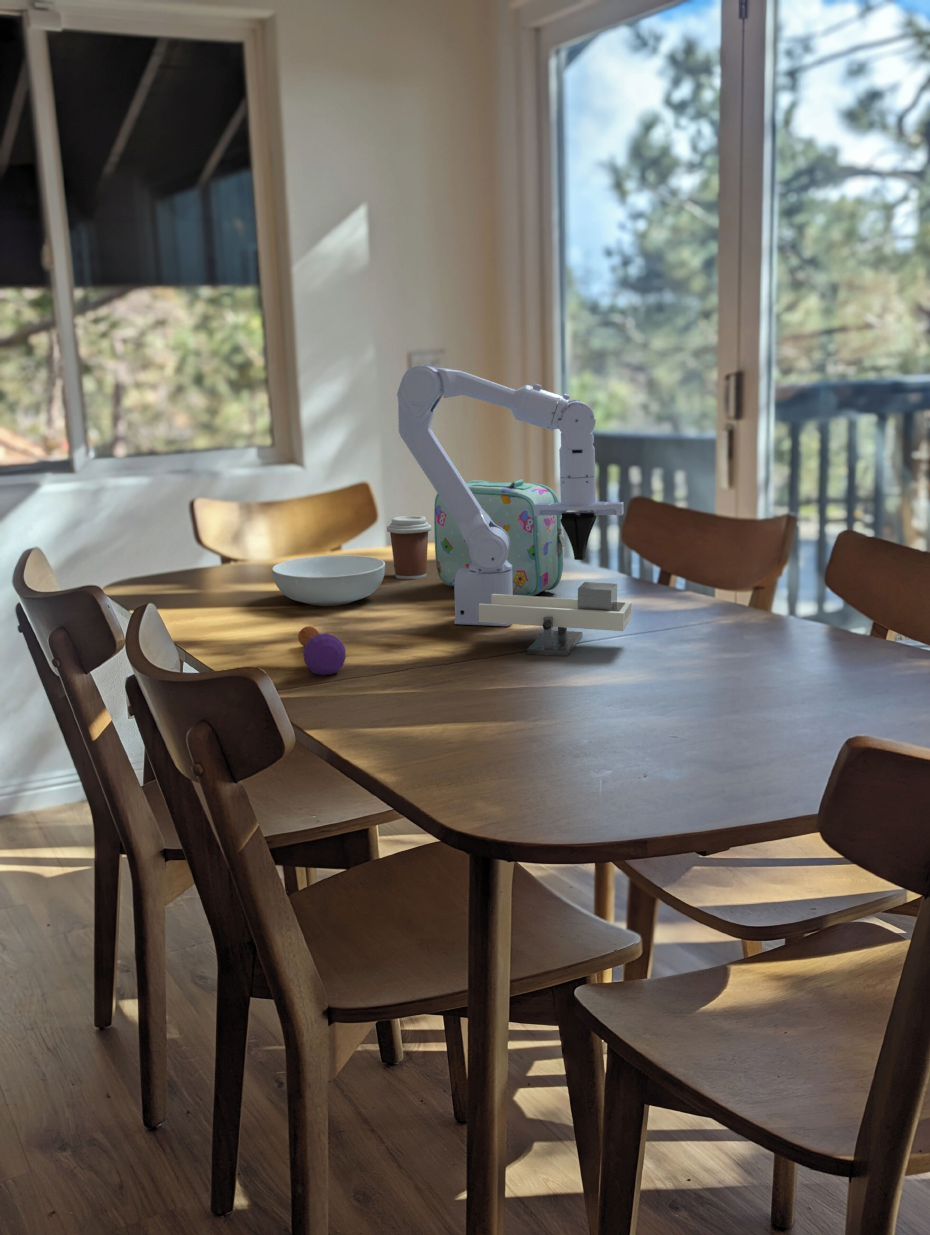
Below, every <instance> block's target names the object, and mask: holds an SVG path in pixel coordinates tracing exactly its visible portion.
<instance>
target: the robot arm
mask: <svg viewBox="0 0 930 1235" xmlns="http://www.w3.org/2000/svg"><path fill="white" fill-rule="evenodd" d="M399 383H400V384H399V387H398V389H397V394H396V397H397V403H398V404H397V406H398V407H397V410H398V414H397V415H398V433H399V435H400V436H399V437H400V438H401V439H402V441H403V442H404V444H405V445H406V447H407V448H408V450H409V452H410V453H411V454H412V456H413V458H414V459H415V461H416V462H417V464H418V465H419V466H420V468H421V470H422V471H423V473H424V475H425V476H426V478H427V479H428V482H430V483H431V485H432V486H433V488H434V490H435V491H436V494H437V493H438V494H439V496H440V497H441V499H442V501H443V502H444V504H445V505H446V507H447V508H448V510H449V511H450V513H451V514H452V516H453V517H454V519H455V521H456V522H457V524H458V525H459V528H460V530H461V533H462V535H463V538H464V539H465V541H466V542H467V544H468V547H469V555H470V558H471V561H472V562H473V563H472V564H470V565H469V568H468V569H459V570H458V571H457V573H456V577H455V585H454V586H453V588H454V589H453V590H454V617H455V618H454V622H453V624H455V625H467V626H468V625H469V626H470V625H471V626H495V627H509V626H511V625H512V624H504V623H488V622H479V604H480V603H481V604H491V595H492V594H504V595H513V587H512V565H511V564H510V563H509V562H508V561H507V556H508V551H509V548H510V539H509V536H508V534H507V532H506V531H505V530H504V529H502V528H501V527H499V526H497V525H496V524H495V523H494V522H493V521H492V520H491V518H490V517H489V515H488V514H487V513H486V512H485V511H484V510H483V509H482V508H481V506H480V504H479V503H478V501H477V500H476V498H475V497H474V495H473V494H472V492H471V490H470V489H469V487H468V486H467V484H466V481H465V480H464V478H463V477H462V475H461V474H460V472H459V470H458V469H457V467H456V466H455V464H454V463H453V461H452V459H451V458H450V457H449V455H448V453H447V452H446V450H445V449H444V447H443V446H442V444H441V443H440V441H439V439H438V438H437V436H436V435H435V433H434V432H433V430H432V428H431V426H432V422H433V418H434V415H435V409H436V407H437V405H438V403H439V402H440V401H441V398H443V399H447V398H453V397H459V396H465V397H469V398H472V399H475V400H479V401H482V402H486V403H491V404H492V405H493V404H494V405H496V406H500V407H504V408H507V409H510V411H511V413H512V416H513V417H514V419H515V420H516V421H517V420H518V421H520V422H524V423H527V424H529V425H534V426H536V427H539V428H543V429H545V430H549V431H554V430H559V431H560V447H559V451H558V452H559V482H560V483H559V485H560V486H559V487H560V489H559V492H560V502H552V503H536V504H534V516H541V515H561V520H560V521H561V527H562V528H563V529H564V531H565V533H566V535H567V538H568V540H569V543H570V546H571V549H572V553H573V557H574V559H573V560H574V561H584V559H585V558H586V553H587V552H586V551H587V547H588V546H587V545H588V542H589V538H590V535H591V532H592V530H593V527H594V524H595V523H596V520H597V518H598V516H616V517H618V516H620V517H621V516H623V515H624V514H625V511H624V510H625V509H624V505H625V504H624V501H621V502H620V501H598V500H597V499H596V498H597V496H596V493H597V492H596V491H597V489H596V488H597V487H596V451H595V450H596V448H595V446H594V443H595V436H594V434H593V431H594V429H595V426H596V419H595V414H594V412H593V410H592V409H591V407H590V406H589V405H588V404H587V403H585V402H583V401H581V400H580V399H572V400H570V398H571V396H570V395H569V394H566V393H564V394H563V395H560V394H557V393H554V392H551V391H549V390H544V389H542V388H543V387H542V385H541V384H537V383H534V384H533V386H532V385H529V384H526V385H525V384H524V385H523V386H521V387H519V388H517V389H514V388H511V387H508V386H505V385H502V384H500V383H496V382H493V381H491V380H489V379H486V378H483V377H479V376H478V375H474V374H471V373H470V372H469V373H468V372H465V371H463V370H459V369H458V370H457V369H452V368H446V367H436V366H434V365H430V364H424V365H423V364H422V365H421V364H420V365H415V366H412V367H410V368H409V369H408V370H406V371H405V372H404V374H403V375H402V378H401V381H400V382H399Z"/></svg>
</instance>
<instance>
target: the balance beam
mask: <svg viewBox="0 0 930 1235" xmlns="http://www.w3.org/2000/svg"><path fill="white" fill-rule="evenodd" d="M632 603H633V601H625V600H624V601H623V600H622V601H621V600H617V612H615V611H598V610H581V609H578V598H574V597H573V598H572V597H557V596H556V597H555V596H554V597H553V596H536V595H534V596H522V595H504V594H492V595H491V604H481V603H480V604H479V622H488V623H504V624H511V625H519V626H520V625H521V626H535V627H538V626H539V627H543V618H544V617H553V628H554V627H555V628H558V627H566V628H568V629H570V628H571V629H584V630H595V631H596V630H597V631H599V630H600V631H614V632H616V631H617V632H624V631H625V629H626V628H627V626H628V624H629V623H630V622H631V621H632V614H633V612H632V610H633V609H632V608H633V604H632Z"/></svg>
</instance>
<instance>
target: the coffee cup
mask: <svg viewBox="0 0 930 1235" xmlns="http://www.w3.org/2000/svg"><path fill="white" fill-rule="evenodd" d="M429 531H432V525H431V524H429V522H428V521H427V518H426V516H423V515H403V516H402V515H401V516H400V515H399V516H395V517H392V518H391V523H390V524H389V525H388V526H386V532H387V533H390V542H391V543H390V544H391V550H392V560H393V567H394V575H395V577H396V578H395V579H399V580H419V579H420V580H421V579H424V578H426V577H427V570H428V569H427V564H428V546H429V545H428V543H429V541H428V540H429Z"/></svg>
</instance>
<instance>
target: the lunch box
mask: <svg viewBox="0 0 930 1235" xmlns="http://www.w3.org/2000/svg"><path fill="white" fill-rule="evenodd" d="M465 483H466V484H467V486H468V487H469V489H470V490H471V492H472V494H473V495H474V497H475V498H476V500H477V501H478V503H479V504H480V506H481V508H482V509H483V510H484V511H485V512H486V513H487V514H488V515H489V517H490V518H491V520H492V521H493V522H494V523H495V524H496V525H497V526H499V527H501V528H502V529H504V530H505V531H506V532H507V534H508V536H509V539H510V548H509V551H508V556H507V561H508V562H509V563H510V564H511V565H512V587H513V595H522V596H536V595H538V594H540V593H542V592H545V591H550V590H551V591H552V590H554V589H556V588H557V586H559V584H560V582H561V579H562V575H563V568H564V550H563V547H567V544H566V540H565V536H564V534H563V533H562V532H563V529H562V524H561V521H560V520H561V517H562V515H541V516H534V504H536V503H552V502H561V500H560V499H559V497H558V495H557V494H556V492H555V491H554V490H553V489H552V488H551V487H549V486H547V485H545V484H540V483H534V482H533V483H531V482H524V479H522V478H521V479H519V480H517V481H512V482H501V481H500V482H499V481H488V480H479V479H478V480H477V479H476V480H469V481H465ZM433 511H434V513H433V514H434V516H433V519H434V522H433V523H434V524H433V525H434V531H433V532H434V554H435V555H434V557H435V567H436V571H437V575H438V577H439V579H440V580H441V581H442V583H444V584H445V585H446V586H448V587H449V586H450V587H454V585H455V577H456V573H457V571H458V570H459V569H468V568H469V565H470V564H472V563H473V562H472V561H471V558H470V555H469V547H468V544H467V542H466V541H465V539H464V538H463V535H462V533H461V530H460V528H459V525H458V524H457V522H456V521H455V519H454V517H453V516H452V514H451V513H450V511H449V510H448V508H447V507H446V505H445V504H444V502H443V501H442V499H441V497H440V496H439V494H438V493H437V492H436V495H435V499H434V509H433Z"/></svg>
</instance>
